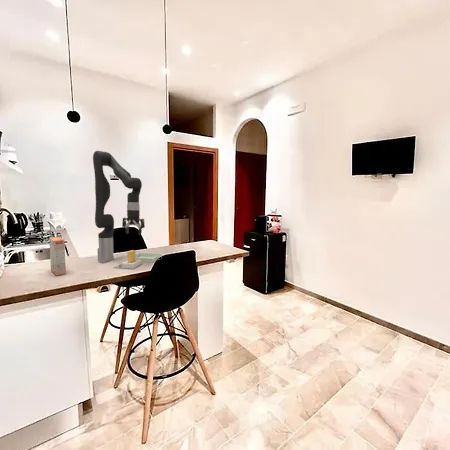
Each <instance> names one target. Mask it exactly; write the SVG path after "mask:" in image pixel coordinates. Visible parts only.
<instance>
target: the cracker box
mask: <svg viewBox="0 0 450 450" xmlns="http://www.w3.org/2000/svg"><path fill="white" fill-rule="evenodd" d="M48 240H49V241H48V242H49V257H50V258H49V259H50V271H51V273H53V275H54V276H55V277H56V276H65V275H67V272H66V271H67V270H66V267H67V266H66V248H65V247H66V243H65V239H63V238H62V237H61V236H52V237H51V236H49V239H48Z"/></svg>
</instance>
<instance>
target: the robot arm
mask: <svg viewBox="0 0 450 450" xmlns="http://www.w3.org/2000/svg"><path fill="white" fill-rule="evenodd" d="M92 162H93V170H94V171H93V172H94V183H95V184H94V189H95V190H94V191H95V192H94V193H95V210H94V211H95V214H94V223H95V224H94V225H95V226H96V227H97V229H103V230H102V231H101V232H98V234H97V235H98V236H97V237H98V248H97V250H96V251H97V262H98V263H102V264H105V263H106V264H107V263H109V262H111V261H112V262H113V261H114V260H115V259H114V232H115V219H114V216H113V215H112V214H111V213H110V214H109V213H106V214H105V207H106V205H107V203H108V202H109V200H110V197H111V184H110V182H109V181H108V179H107V177H106V175H105V171H104V167H108V168H111V169H112V171H113V174H114V175H115V176H116V177H117V178H118V180H120V181H121V182H122V184H123V186H124V187H125V188H127V189H130V190H132V191H131V192H129V193H127V200H126V201H127V203H126V209H127V210H126V214H127V215H126V216H127V217H122V227H123V228H125V229H124V230H125V232H124V233H125V234H127V235H128V234H129V232H130V231H129V230H130V228H129V227H130V226H136V227H137V228H138V229H137V233H138V236H140V235H141V234H142V230H143V229H144V228H145V227H146V226H145V219H144V218H140V194H141V190H142V186H143V183H142V180H141V179H140V178H139V177H132V175H131V173H130V172H129V171H127V170H126V169H125V168H124V167H123V166H122V165H121V164H120V163H119V162H118V160H117V159H115V157H114V156H113V155H112V154H111V153H110V152H108V151H101V150H95V151H94V153H93V155H92Z"/></svg>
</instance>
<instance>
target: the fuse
mask: <svg viewBox="0 0 450 450" xmlns="http://www.w3.org/2000/svg"><path fill="white" fill-rule="evenodd" d="M135 254H136V250H134V249H131V250H128V251H127V254H126V255H127V256H126V258H127V260H126V261H128V263H133V262H135V261H136V257H135Z"/></svg>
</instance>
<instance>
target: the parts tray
mask: <svg viewBox="0 0 450 450" xmlns="http://www.w3.org/2000/svg"><path fill="white" fill-rule="evenodd" d="M160 256H161V257H162V253H156V252H154V253H152V252H140V251H139V252H137V253H135V257H136V260H141V263H155V262H156V261H158V260H159V259H158V258H159V257H160ZM157 259H158V260H157Z"/></svg>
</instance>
